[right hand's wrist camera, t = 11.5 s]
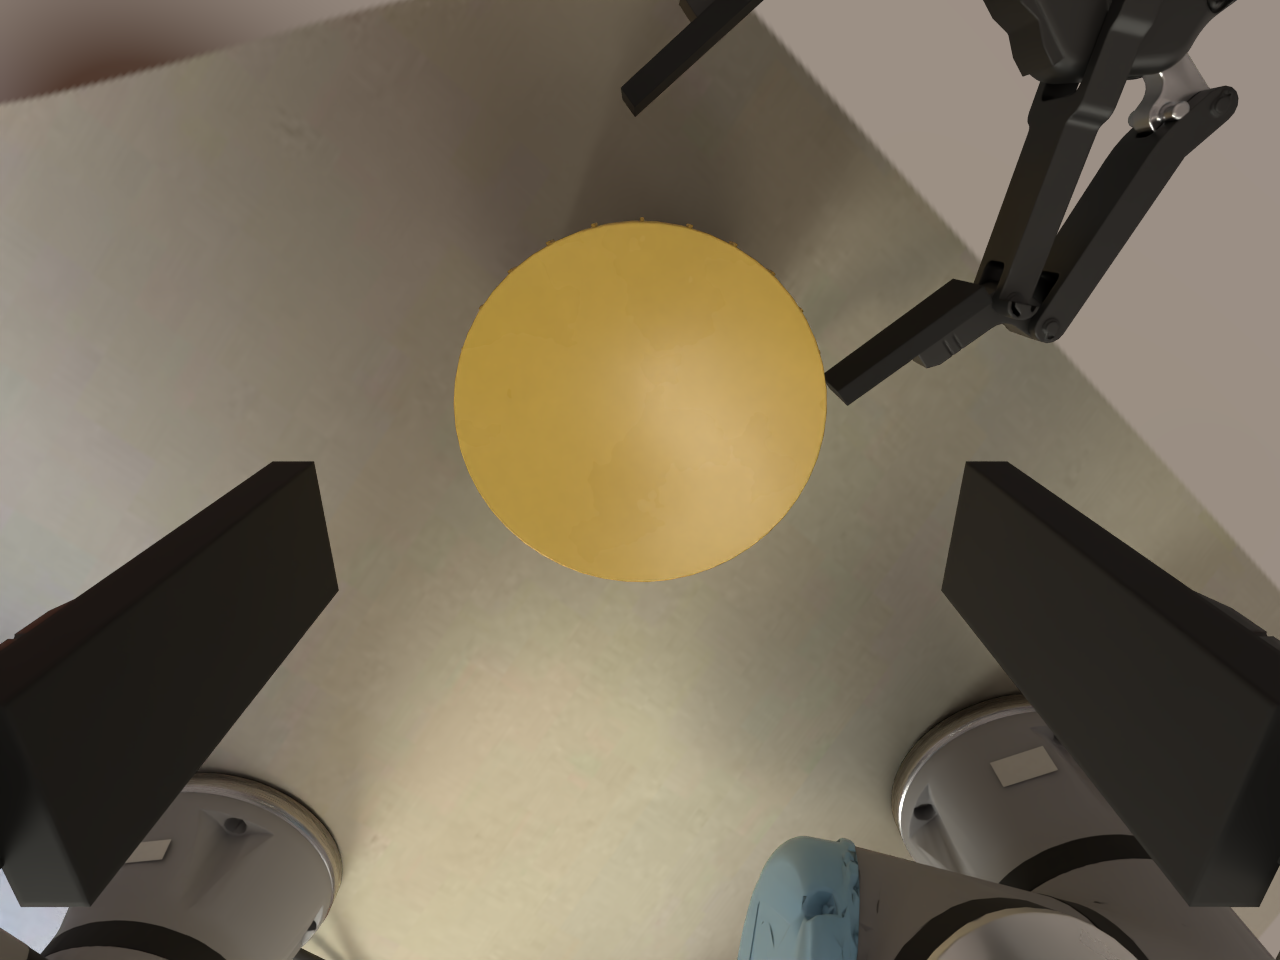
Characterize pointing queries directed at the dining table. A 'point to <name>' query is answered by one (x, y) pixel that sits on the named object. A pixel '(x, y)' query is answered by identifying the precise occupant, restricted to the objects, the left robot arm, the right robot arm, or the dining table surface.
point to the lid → (640, 401)
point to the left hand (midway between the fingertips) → (737, 258)
